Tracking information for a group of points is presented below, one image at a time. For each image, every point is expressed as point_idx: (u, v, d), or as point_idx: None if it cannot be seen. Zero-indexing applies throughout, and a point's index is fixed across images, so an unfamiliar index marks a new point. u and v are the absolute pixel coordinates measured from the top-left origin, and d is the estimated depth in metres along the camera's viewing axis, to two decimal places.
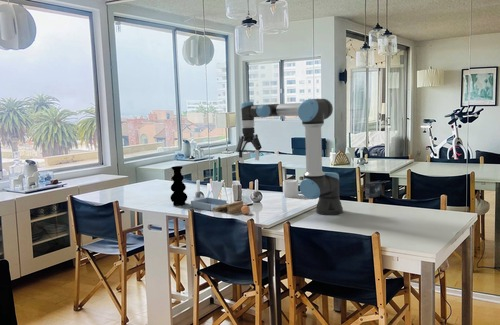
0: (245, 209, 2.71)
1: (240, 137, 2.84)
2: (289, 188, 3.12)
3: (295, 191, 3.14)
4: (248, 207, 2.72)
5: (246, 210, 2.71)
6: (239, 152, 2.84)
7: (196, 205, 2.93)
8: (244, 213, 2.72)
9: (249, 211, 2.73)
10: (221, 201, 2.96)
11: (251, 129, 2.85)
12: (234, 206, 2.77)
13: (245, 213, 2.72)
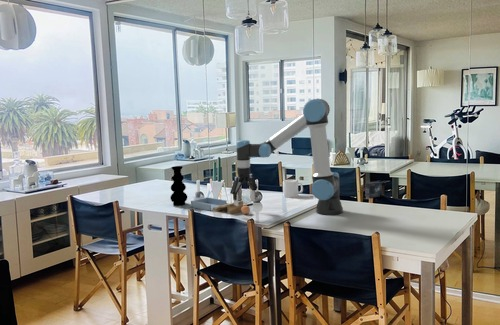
0: (245, 209, 2.71)
1: (235, 178, 2.66)
2: (289, 188, 3.12)
3: (295, 191, 3.14)
4: (248, 207, 2.72)
5: (246, 210, 2.71)
6: (233, 194, 2.66)
7: (196, 205, 2.93)
8: (244, 213, 2.72)
9: (249, 211, 2.73)
10: (221, 201, 2.96)
11: (247, 170, 2.67)
12: (234, 206, 2.77)
13: (245, 213, 2.72)
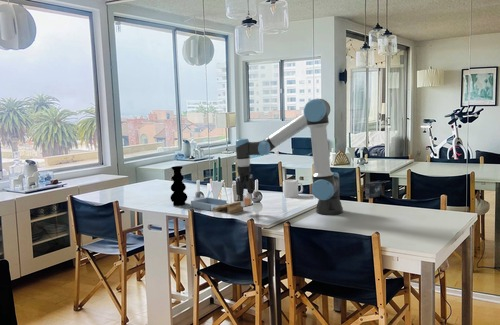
0: (245, 201, 2.70)
1: (236, 180, 2.66)
2: (289, 188, 3.12)
3: (295, 191, 3.14)
4: (248, 199, 2.71)
5: (246, 202, 2.70)
6: (240, 195, 2.69)
7: (196, 205, 2.93)
8: None
9: (249, 203, 2.72)
10: (221, 201, 2.96)
11: (247, 168, 2.67)
12: (234, 206, 2.77)
13: (245, 205, 2.71)
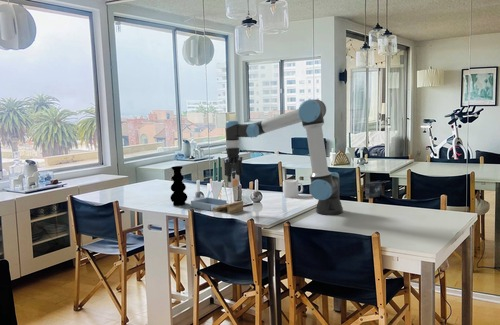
0: (233, 182, 2.75)
1: (224, 161, 2.71)
2: (289, 188, 3.12)
3: (295, 191, 3.14)
4: (236, 180, 2.76)
5: (234, 183, 2.75)
6: (228, 176, 2.73)
7: (196, 205, 2.93)
8: None
9: (237, 184, 2.76)
10: (221, 201, 2.96)
11: (236, 149, 2.71)
12: (234, 206, 2.77)
13: (233, 186, 2.75)
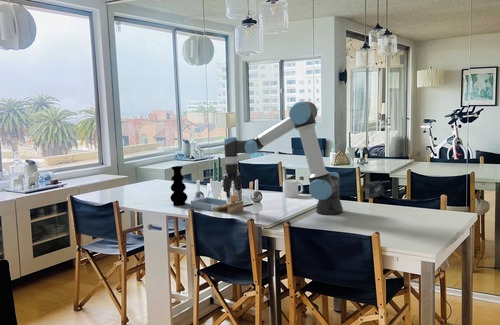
0: (232, 198, 2.77)
1: (223, 177, 2.73)
2: (289, 188, 3.12)
3: (295, 191, 3.14)
4: (235, 196, 2.78)
5: (233, 199, 2.77)
6: (226, 192, 2.76)
7: (196, 205, 2.93)
8: None
9: (236, 200, 2.79)
10: (221, 201, 2.96)
11: (234, 166, 2.74)
12: (234, 206, 2.77)
13: (232, 202, 2.78)
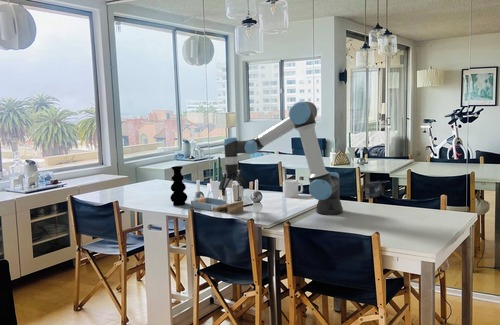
0: None
1: (223, 174, 2.73)
2: (289, 188, 3.12)
3: (295, 191, 3.14)
4: (204, 201, 2.97)
5: None
6: (222, 190, 2.73)
7: (196, 205, 2.93)
8: None
9: None
10: (221, 201, 2.96)
11: (234, 166, 2.74)
12: (234, 206, 2.77)
13: None
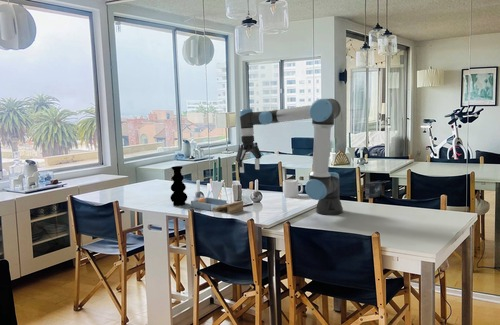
0: None
1: (239, 146, 2.72)
2: (289, 188, 3.12)
3: (295, 191, 3.14)
4: (204, 202, 2.97)
5: None
6: (239, 161, 2.72)
7: (196, 205, 2.93)
8: None
9: None
10: (221, 201, 2.96)
11: (251, 137, 2.74)
12: (234, 206, 2.77)
13: None
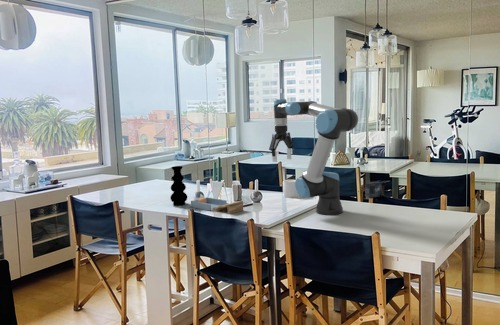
0: None
1: (273, 135, 2.77)
2: (289, 188, 3.12)
3: (295, 191, 3.14)
4: (205, 202, 2.97)
5: None
6: (272, 151, 2.77)
7: (196, 205, 2.93)
8: None
9: None
10: (221, 201, 2.96)
11: (284, 127, 2.78)
12: (234, 206, 2.77)
13: None
